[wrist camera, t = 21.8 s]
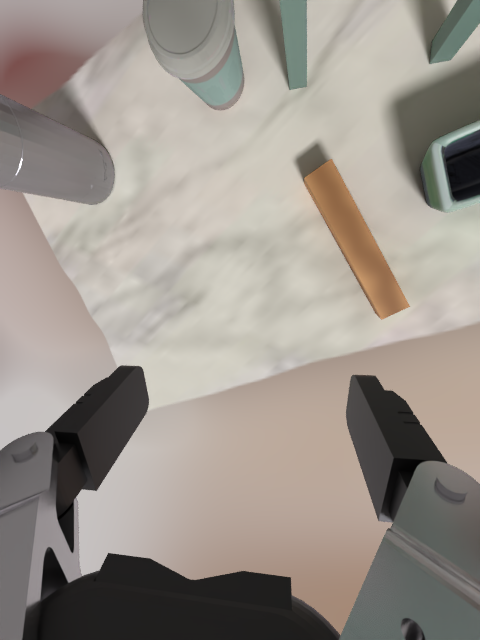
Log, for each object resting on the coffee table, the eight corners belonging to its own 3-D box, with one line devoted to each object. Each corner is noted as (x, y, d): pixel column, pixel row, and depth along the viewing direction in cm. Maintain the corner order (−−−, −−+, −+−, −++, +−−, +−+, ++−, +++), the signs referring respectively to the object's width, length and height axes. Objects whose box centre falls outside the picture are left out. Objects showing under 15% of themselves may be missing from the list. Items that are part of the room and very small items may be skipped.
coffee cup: (268, 65, 33) (248, -27, 22) (231, 136, 36) (196, 87, 25) (211, 27, 33) (163, -84, 22) (179, 100, 36) (122, 36, 25)
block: (375, 313, 38) (381, 319, 35) (304, 184, 36) (304, 178, 32) (400, 300, 37) (409, 306, 33) (329, 166, 35) (331, 158, 31)
